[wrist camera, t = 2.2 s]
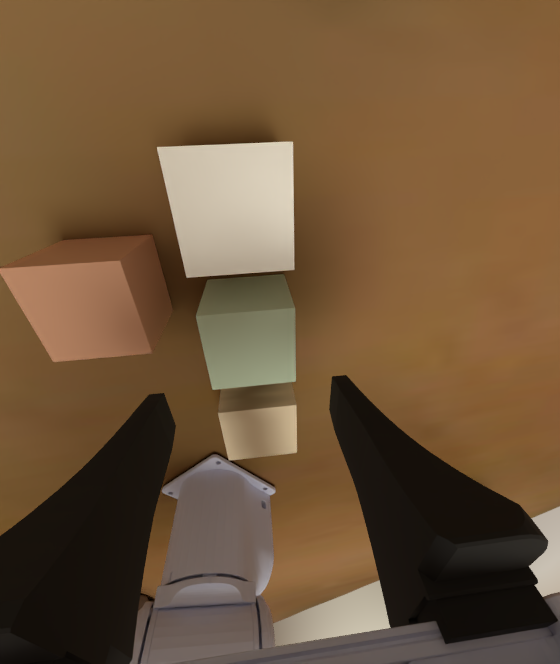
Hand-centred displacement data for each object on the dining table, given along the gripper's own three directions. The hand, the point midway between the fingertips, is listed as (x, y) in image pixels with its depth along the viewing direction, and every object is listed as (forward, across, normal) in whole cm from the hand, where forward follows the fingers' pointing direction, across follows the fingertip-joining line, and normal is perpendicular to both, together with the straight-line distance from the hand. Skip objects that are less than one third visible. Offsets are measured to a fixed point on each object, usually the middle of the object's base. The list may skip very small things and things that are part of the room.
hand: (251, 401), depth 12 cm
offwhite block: (+9, 0, -7) cm, 11 cm away
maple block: (+9, 0, +7) cm, 11 cm away
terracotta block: (+9, +8, -3) cm, 12 cm away
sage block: (+9, 0, 0) cm, 9 cm away
